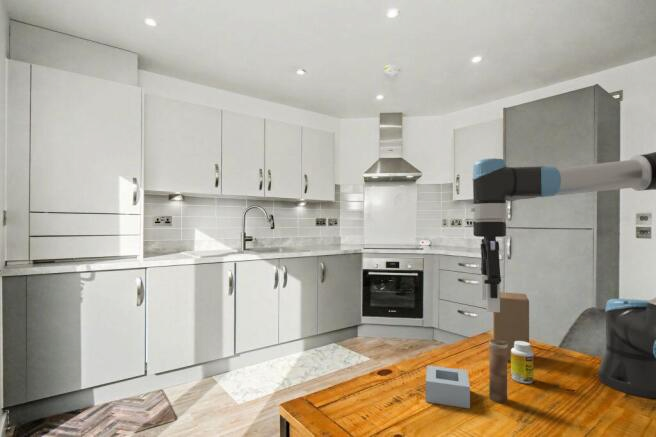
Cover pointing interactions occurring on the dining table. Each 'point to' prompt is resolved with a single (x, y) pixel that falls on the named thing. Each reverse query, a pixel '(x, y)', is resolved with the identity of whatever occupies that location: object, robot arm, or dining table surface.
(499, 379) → the peg
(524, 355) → the supplement bottle
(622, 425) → the dining table surface
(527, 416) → the dining table surface
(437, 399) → the socket block
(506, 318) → the wooden block
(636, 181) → the robot arm
